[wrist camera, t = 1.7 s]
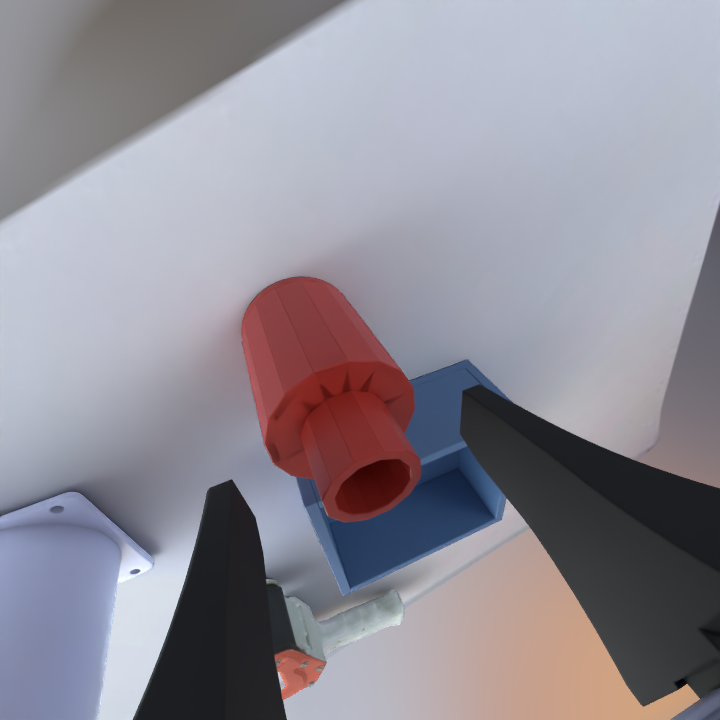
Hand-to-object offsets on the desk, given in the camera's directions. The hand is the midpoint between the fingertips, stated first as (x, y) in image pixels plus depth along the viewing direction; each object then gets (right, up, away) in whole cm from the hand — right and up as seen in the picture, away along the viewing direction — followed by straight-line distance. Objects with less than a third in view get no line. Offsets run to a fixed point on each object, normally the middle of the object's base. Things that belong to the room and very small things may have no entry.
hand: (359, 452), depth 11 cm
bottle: (-3, +4, +6) cm, 8 cm away
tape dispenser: (-7, -20, +22) cm, 31 cm away
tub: (+2, -3, +13) cm, 14 cm away
